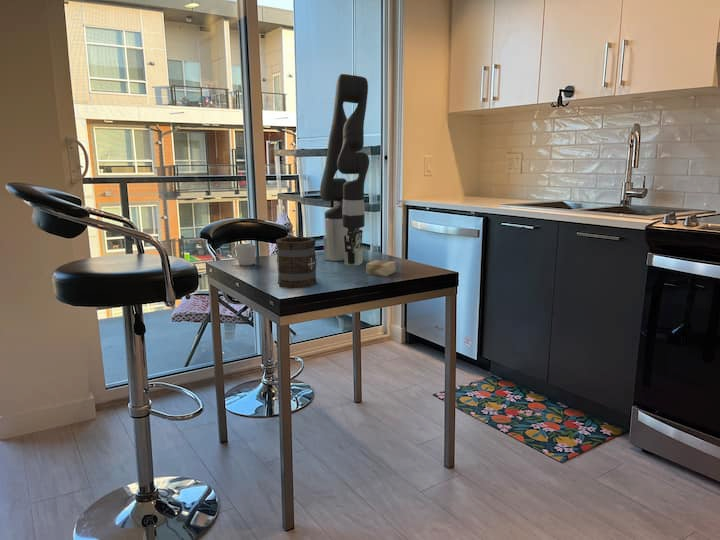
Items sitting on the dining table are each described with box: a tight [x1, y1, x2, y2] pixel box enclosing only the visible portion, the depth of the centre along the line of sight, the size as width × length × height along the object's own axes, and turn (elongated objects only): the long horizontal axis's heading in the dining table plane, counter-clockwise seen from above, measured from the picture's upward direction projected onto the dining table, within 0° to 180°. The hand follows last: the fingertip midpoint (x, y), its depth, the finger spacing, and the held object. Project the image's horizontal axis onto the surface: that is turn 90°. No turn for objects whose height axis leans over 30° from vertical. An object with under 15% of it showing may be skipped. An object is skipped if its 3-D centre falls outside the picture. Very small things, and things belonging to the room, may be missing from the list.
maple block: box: [365, 259, 396, 277], centre depth 190 cm, size 8×8×4 cm
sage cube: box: [344, 247, 364, 266], centre depth 179 cm, size 5×5×5 cm
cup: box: [230, 243, 257, 267], centre depth 207 cm, size 11×8×8 cm
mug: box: [275, 236, 318, 289], centre depth 177 cm, size 20×14×15 cm
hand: (353, 261), depth 179 cm, fingers closed on sage cube, 5 cm apart
